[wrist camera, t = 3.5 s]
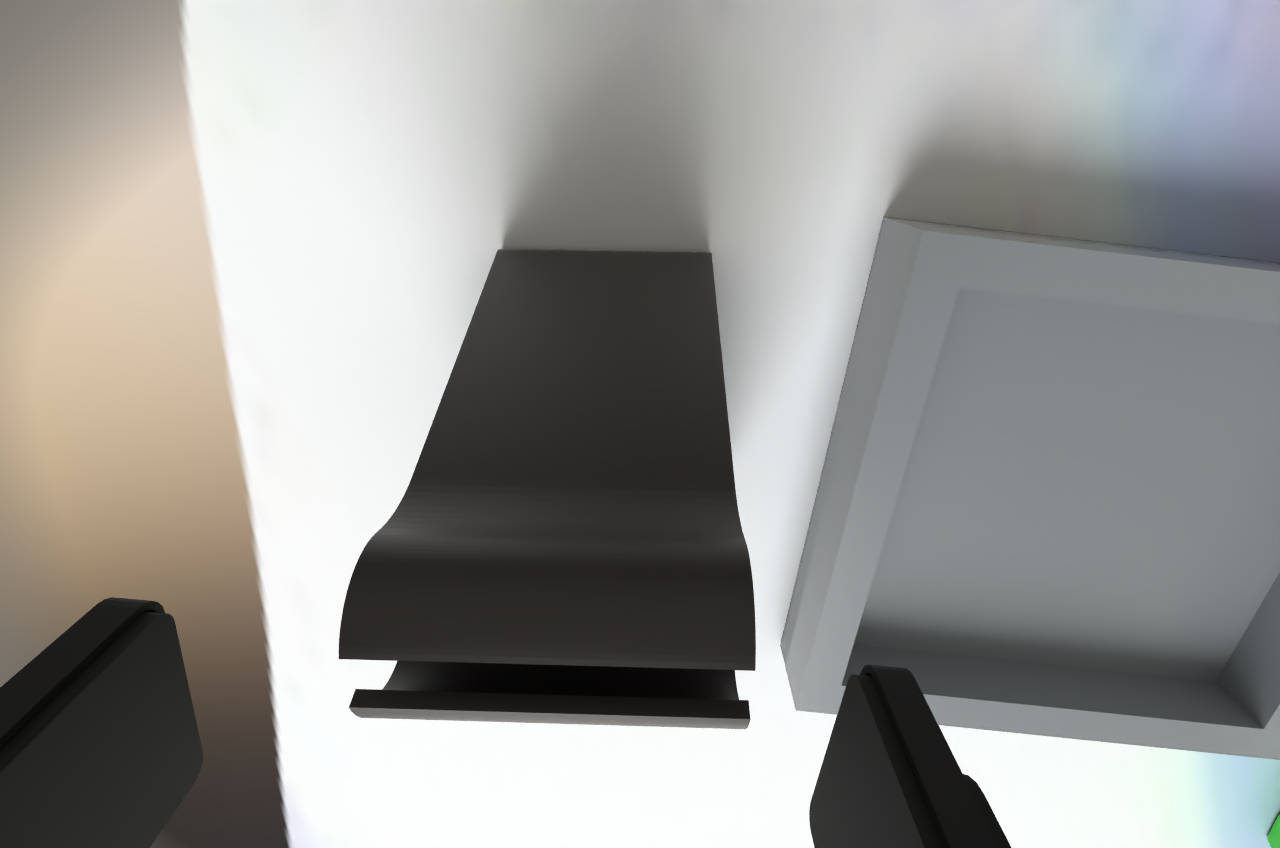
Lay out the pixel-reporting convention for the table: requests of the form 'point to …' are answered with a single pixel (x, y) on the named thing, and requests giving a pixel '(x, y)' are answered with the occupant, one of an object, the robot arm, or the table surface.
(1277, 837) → the fruit basket
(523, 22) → the table surface
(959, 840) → the robot arm
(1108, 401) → the tray
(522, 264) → the phone stand
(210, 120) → the table surface
